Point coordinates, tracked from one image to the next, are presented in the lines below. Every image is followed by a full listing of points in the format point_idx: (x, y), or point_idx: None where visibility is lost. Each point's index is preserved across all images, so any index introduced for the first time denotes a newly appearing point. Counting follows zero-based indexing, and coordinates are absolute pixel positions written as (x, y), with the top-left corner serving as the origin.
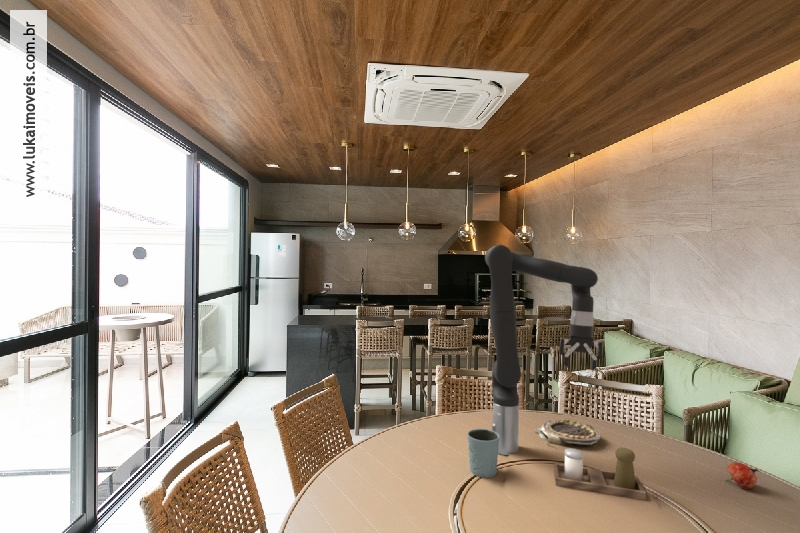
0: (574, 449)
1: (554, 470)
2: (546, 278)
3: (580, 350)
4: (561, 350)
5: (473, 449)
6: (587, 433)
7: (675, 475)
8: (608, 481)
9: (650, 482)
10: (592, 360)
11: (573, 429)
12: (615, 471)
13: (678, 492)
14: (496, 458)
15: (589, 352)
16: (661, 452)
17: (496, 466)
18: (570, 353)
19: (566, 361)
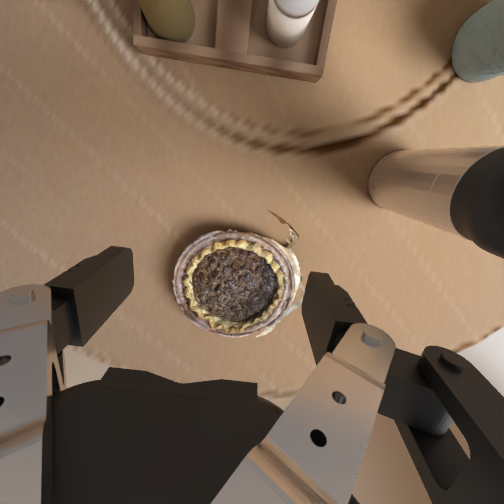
0: (291, 3)
1: (329, 33)
2: None
3: (182, 401)
4: (480, 397)
5: None
6: (200, 280)
7: (49, 131)
8: (204, 34)
9: (109, 77)
10: (73, 287)
11: (226, 297)
12: (184, 6)
13: (56, 34)
14: (495, 4)
15: (30, 346)
16: (60, 247)
17: (471, 24)
18: (334, 355)
19: (341, 297)
